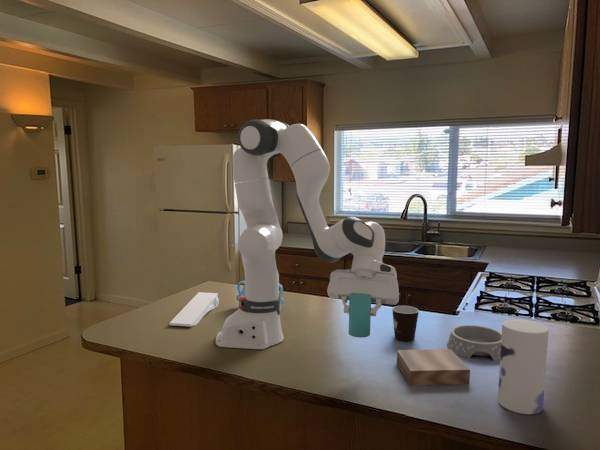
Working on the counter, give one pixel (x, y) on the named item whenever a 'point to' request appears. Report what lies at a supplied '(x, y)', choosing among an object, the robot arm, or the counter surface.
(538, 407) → the container
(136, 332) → the counter surface
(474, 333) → the dog bowl
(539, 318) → the counter surface
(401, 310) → the coffee mug
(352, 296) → the teal rounded cylinder
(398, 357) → the wavy tan tile
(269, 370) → the counter surface
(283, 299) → the blue figurine
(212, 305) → the white curved piece
